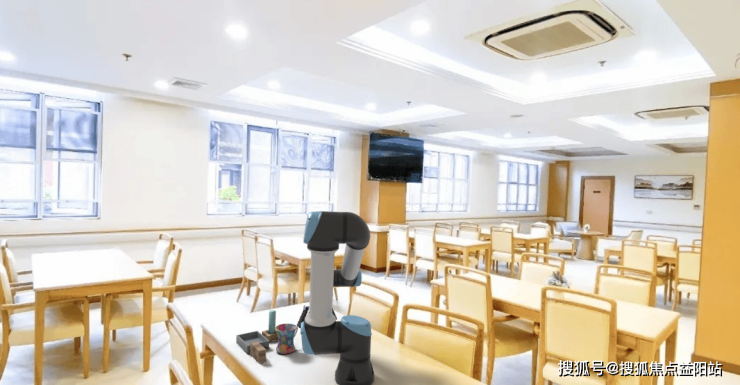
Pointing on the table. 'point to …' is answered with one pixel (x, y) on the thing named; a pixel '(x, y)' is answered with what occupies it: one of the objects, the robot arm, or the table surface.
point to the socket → (270, 335)
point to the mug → (286, 338)
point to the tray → (251, 340)
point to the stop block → (258, 352)
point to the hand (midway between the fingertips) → (316, 338)
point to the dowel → (272, 322)
